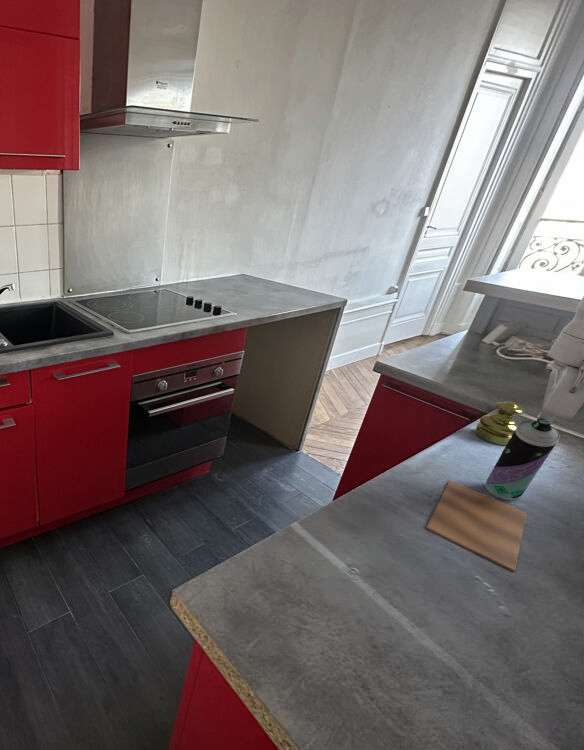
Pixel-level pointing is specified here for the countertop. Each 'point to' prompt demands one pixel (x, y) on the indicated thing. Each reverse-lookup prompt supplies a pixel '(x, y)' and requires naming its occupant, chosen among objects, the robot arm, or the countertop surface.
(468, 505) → the wooden board
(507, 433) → the gold stacked rounded piece
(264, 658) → the countertop surface
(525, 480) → the spray can
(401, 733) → the countertop surface
